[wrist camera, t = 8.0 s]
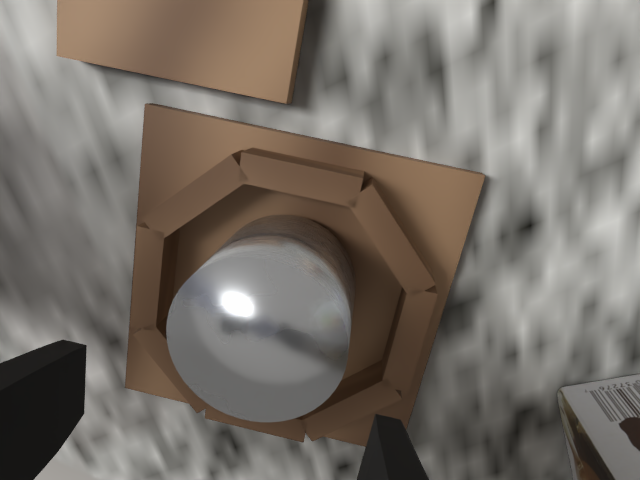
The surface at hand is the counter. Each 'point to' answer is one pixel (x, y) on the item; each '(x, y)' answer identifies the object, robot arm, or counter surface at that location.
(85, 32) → the walnut stand
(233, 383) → the silver metal canister
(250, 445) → the counter surface
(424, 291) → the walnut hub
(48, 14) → the counter surface
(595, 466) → the coffee box
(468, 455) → the counter surface
